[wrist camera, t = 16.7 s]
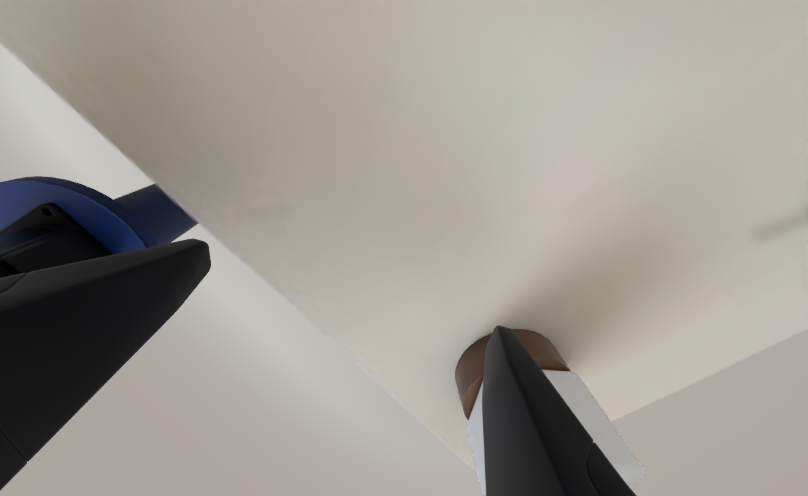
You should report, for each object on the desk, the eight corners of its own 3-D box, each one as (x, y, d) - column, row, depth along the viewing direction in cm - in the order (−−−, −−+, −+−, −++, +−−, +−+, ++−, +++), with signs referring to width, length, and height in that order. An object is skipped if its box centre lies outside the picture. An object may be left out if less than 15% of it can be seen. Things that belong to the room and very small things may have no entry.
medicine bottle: (464, 426, 26) (523, 667, 15) (487, 363, 23) (582, 607, 12) (544, 430, 26) (655, 659, 16) (577, 369, 23) (742, 601, 13)
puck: (478, 416, 30) (487, 448, 27) (438, 357, 26) (444, 387, 23) (568, 380, 28) (588, 410, 26) (539, 312, 25) (558, 338, 22)
